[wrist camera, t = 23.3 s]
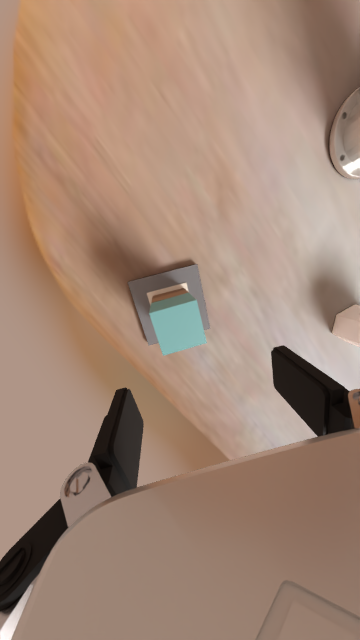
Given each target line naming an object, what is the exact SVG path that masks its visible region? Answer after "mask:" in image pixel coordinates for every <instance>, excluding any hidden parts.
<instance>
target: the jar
mask: <svg viewBox="0 0 360 640" xmlns="http://www.w3.org/2000/svg"><path fill="white" fill-rule="evenodd" d="M332 334H334V335H335V336H337V337H339V338H340V339H342V340H344V341H346V342H348V343H351V344H353V345H355V346H358V347H360V305H352V306H351V307H349V308H347V309H346V310H344V311H342V312H341V313H339V314H337V315H336V319H335V323H334V326H333V330H332Z"/></svg>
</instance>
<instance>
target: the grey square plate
mask: <svg viewBox="0 0 360 640" xmlns="http://www.w3.org/2000/svg"><path fill="white" fill-rule="evenodd" d="M128 285H129V288H130V291H131V294H132V297H133V300H134V303H135V306H136V309H137V312H138V315H139V318H140V321H141V324H142V327H143V330H144V333H145V336H146V339H147V342H148V345H152V344H156V343H159V342H158V339H157V336H156V333H155V330H154V327H153V324H152V321H151V318H150V315H149V311H150V306H151V302H152V297H153V296H154V295H158V294H162V293H166V292H170V291H174V290H177V289H181V288H185V289H186V290H187V291H188V292H189V293H190V294H191V295H192V296H193V297H194V298H195V299H196V300H197V303H198V308H199V312H200V316H201V320H202V325H203V329H204V330H207V329H210V325H209V320H208V315H207V310H206V305H205V300H204V295H203V290H202V285H201V280H200V275H199V271H198V266H197V264H194V265H191V266H187V267H183V268H179V269H175V270H171V271H168V272H164V273H160V274H156V275H152V276H148V277H144V278H141V279H137V280H133V281H129V282H128Z"/></svg>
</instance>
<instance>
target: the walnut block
mask: <svg viewBox="0 0 360 640" xmlns="http://www.w3.org/2000/svg"><path fill="white" fill-rule="evenodd" d="M185 293H189V292H188V291H187V290H186V289H185V288H181V289H177V290H174V291H170V292H166V293H162V294H158V295H154V296H153V297H152V302H151V303H154V302H157V301H161V300H164V299H168V298H171V297H175V296H178V295H182V294H185Z"/></svg>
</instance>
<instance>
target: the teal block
mask: <svg viewBox="0 0 360 640" xmlns="http://www.w3.org/2000/svg"><path fill="white" fill-rule="evenodd" d="M149 315H150V318H151V321H152V324H153V327H154V330H155V333H156V336H157V339H158V342H159V345H160V348H161V351H162V354H163V356H164V355H167V354H171V353H174V352H177V351H181V350H184V349H188V348H191V347H194V346H198V345H201V344H205V343H207V342H206V337H205V333H204V329H203V325H202V320H201V316H200V312H199V308H198V303H197V300H196V299H195V298H194V297H193V296H192V295H191V294H190V293H185V294H182V295H178V296H175V297H171V298H168V299H164V300H161V301H157V302H154V303H151V306H150V311H149Z"/></svg>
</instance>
